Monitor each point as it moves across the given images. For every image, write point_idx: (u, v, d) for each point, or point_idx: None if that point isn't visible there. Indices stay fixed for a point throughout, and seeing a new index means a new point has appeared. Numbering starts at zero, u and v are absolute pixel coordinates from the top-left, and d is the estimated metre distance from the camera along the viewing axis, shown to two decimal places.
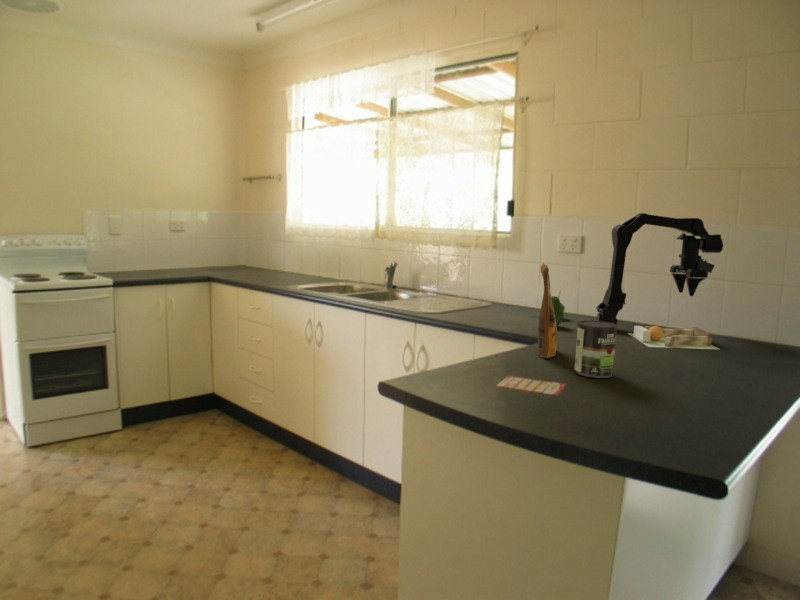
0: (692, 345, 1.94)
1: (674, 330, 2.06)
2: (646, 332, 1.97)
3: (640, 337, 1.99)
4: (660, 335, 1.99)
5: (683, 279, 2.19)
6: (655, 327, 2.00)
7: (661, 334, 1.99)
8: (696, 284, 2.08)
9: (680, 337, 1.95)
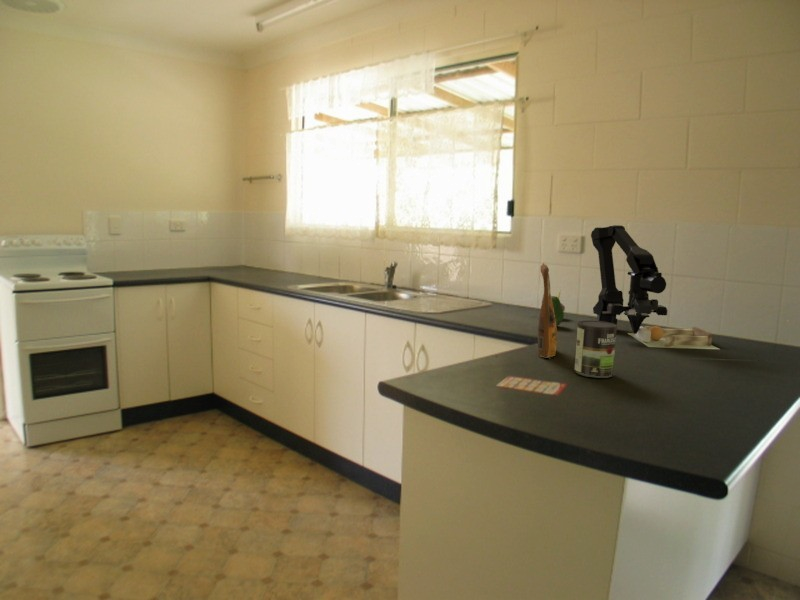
0: (692, 345, 1.94)
1: (674, 330, 2.06)
2: (646, 332, 1.97)
3: (641, 337, 1.99)
4: (660, 335, 1.99)
5: (638, 320, 2.00)
6: (655, 327, 2.00)
7: (661, 334, 1.99)
8: None
9: (680, 337, 1.95)
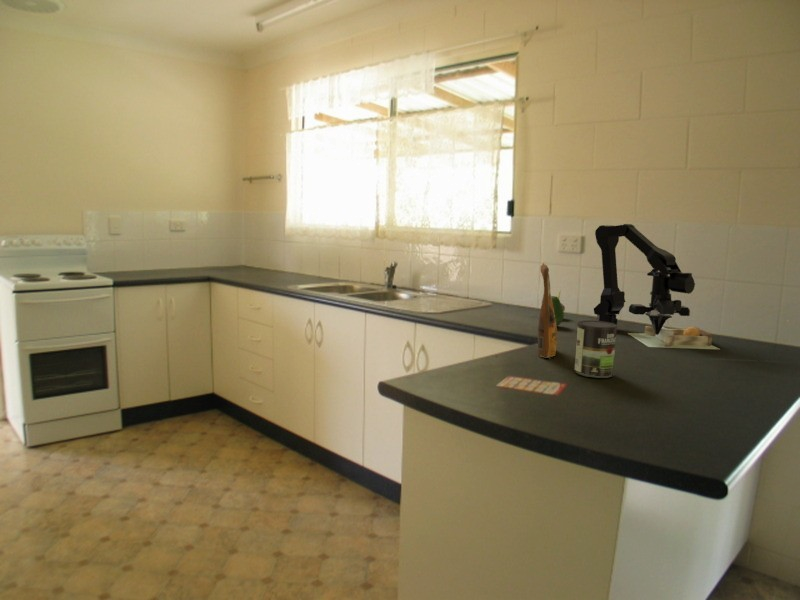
0: (692, 345, 1.94)
1: (674, 330, 2.06)
2: (669, 333, 1.96)
3: (663, 337, 1.98)
4: (696, 333, 1.98)
5: (660, 320, 2.00)
6: (686, 335, 2.00)
7: (695, 332, 1.98)
8: None
9: (680, 337, 1.95)
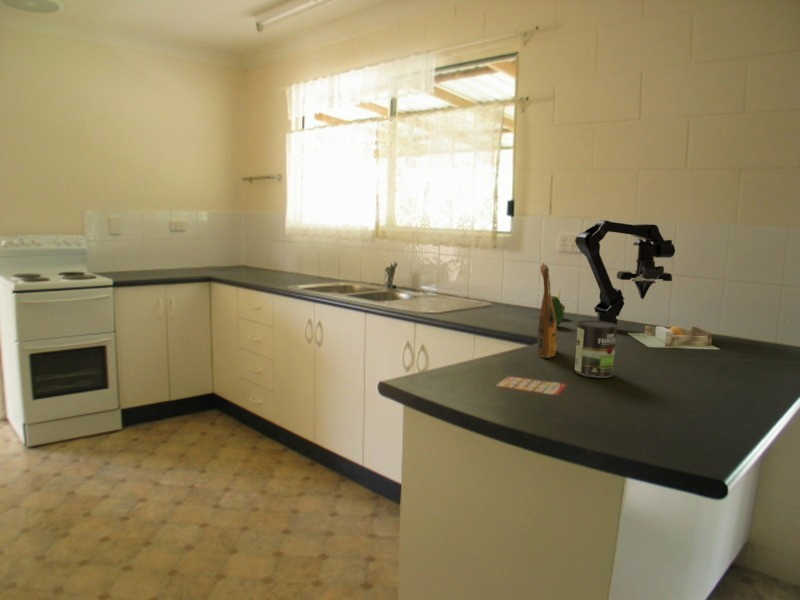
0: (692, 345, 1.94)
1: None
2: (669, 333, 1.96)
3: (663, 337, 1.98)
4: None
5: (645, 286, 2.19)
6: None
7: None
8: None
9: (680, 337, 1.95)
